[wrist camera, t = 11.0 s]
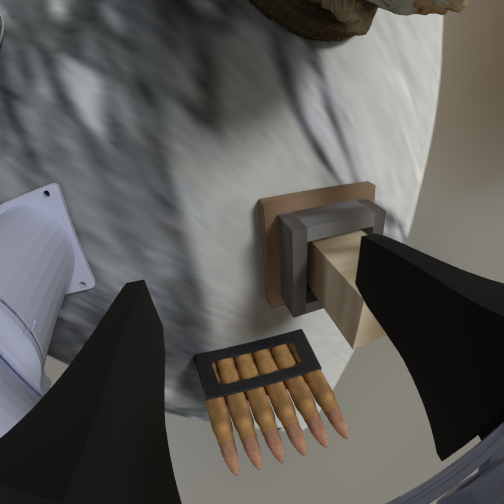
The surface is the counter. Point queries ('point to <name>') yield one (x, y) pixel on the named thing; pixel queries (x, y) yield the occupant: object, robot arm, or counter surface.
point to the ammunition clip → (256, 390)
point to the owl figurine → (344, 14)
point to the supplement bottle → (1, 28)
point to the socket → (310, 235)
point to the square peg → (341, 286)
